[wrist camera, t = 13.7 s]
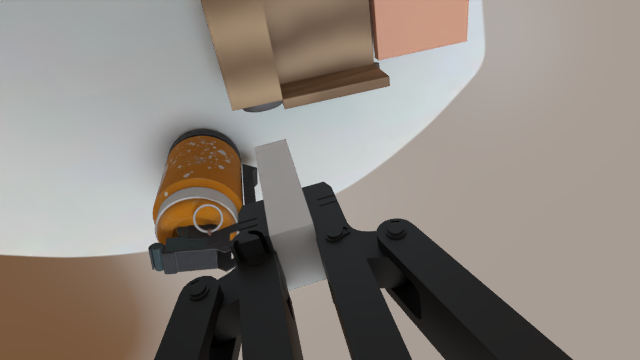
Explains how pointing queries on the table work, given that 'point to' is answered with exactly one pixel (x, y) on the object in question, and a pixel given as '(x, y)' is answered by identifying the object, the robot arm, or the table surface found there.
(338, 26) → the truck
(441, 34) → the panel
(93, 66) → the table surface
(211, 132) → the canister
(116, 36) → the table surface
